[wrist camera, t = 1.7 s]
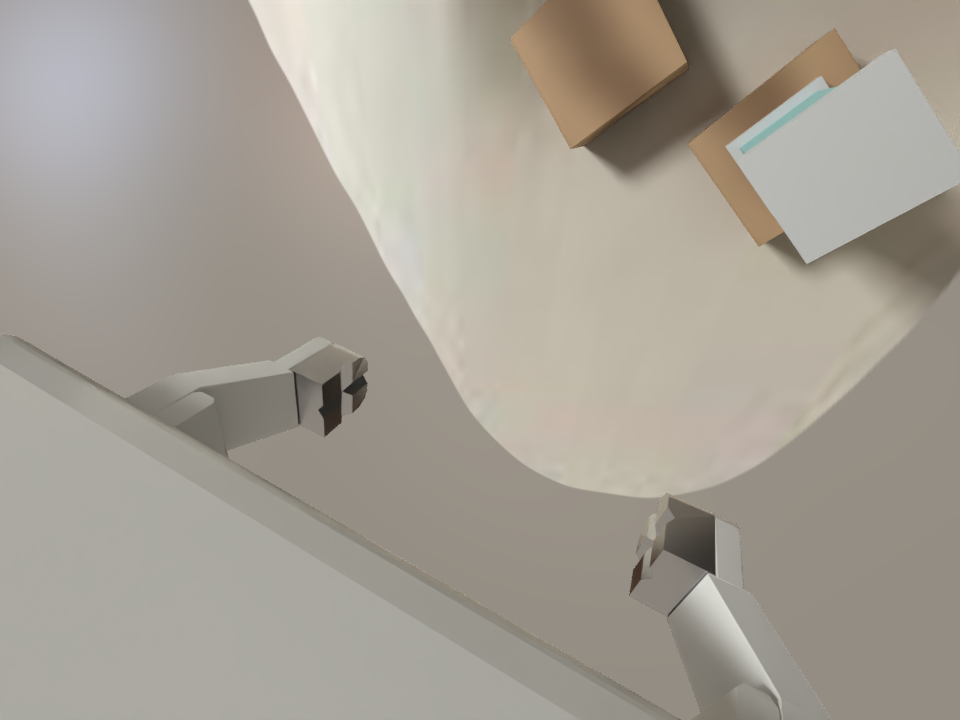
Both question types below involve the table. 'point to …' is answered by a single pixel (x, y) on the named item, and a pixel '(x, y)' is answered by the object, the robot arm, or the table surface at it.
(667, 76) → the stand
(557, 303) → the table surface
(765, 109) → the stand
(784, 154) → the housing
